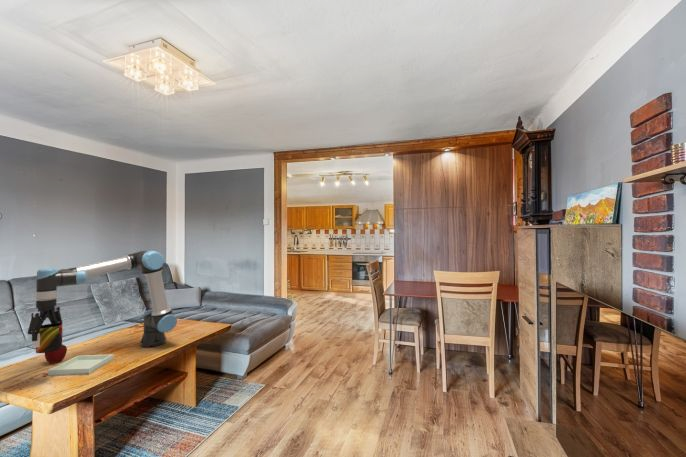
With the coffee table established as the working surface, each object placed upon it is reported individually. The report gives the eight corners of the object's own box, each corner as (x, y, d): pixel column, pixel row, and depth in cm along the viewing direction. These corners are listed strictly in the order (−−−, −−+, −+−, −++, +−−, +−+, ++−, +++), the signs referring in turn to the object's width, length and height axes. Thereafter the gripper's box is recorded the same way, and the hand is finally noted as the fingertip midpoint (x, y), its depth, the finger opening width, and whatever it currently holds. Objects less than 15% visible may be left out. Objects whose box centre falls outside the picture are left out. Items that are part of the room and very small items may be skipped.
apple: (62, 358, 185) (62, 341, 185) (69, 360, 180) (70, 343, 181) (41, 363, 176) (41, 346, 177) (48, 366, 172) (49, 348, 172)
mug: (41, 346, 160) (41, 323, 161) (67, 346, 160) (67, 323, 160) (21, 353, 151) (22, 328, 151) (49, 353, 150) (49, 328, 151)
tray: (113, 359, 182) (113, 354, 182) (88, 374, 162) (89, 368, 162) (77, 360, 180) (77, 355, 180) (47, 375, 160) (48, 370, 160)
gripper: (57, 295, 167) (56, 336, 166) (16, 304, 144) (15, 352, 144) (71, 294, 168) (71, 335, 167) (34, 303, 145) (33, 351, 145)
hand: (45, 343), depth 155 cm, fingers closed on mug, 10 cm apart
